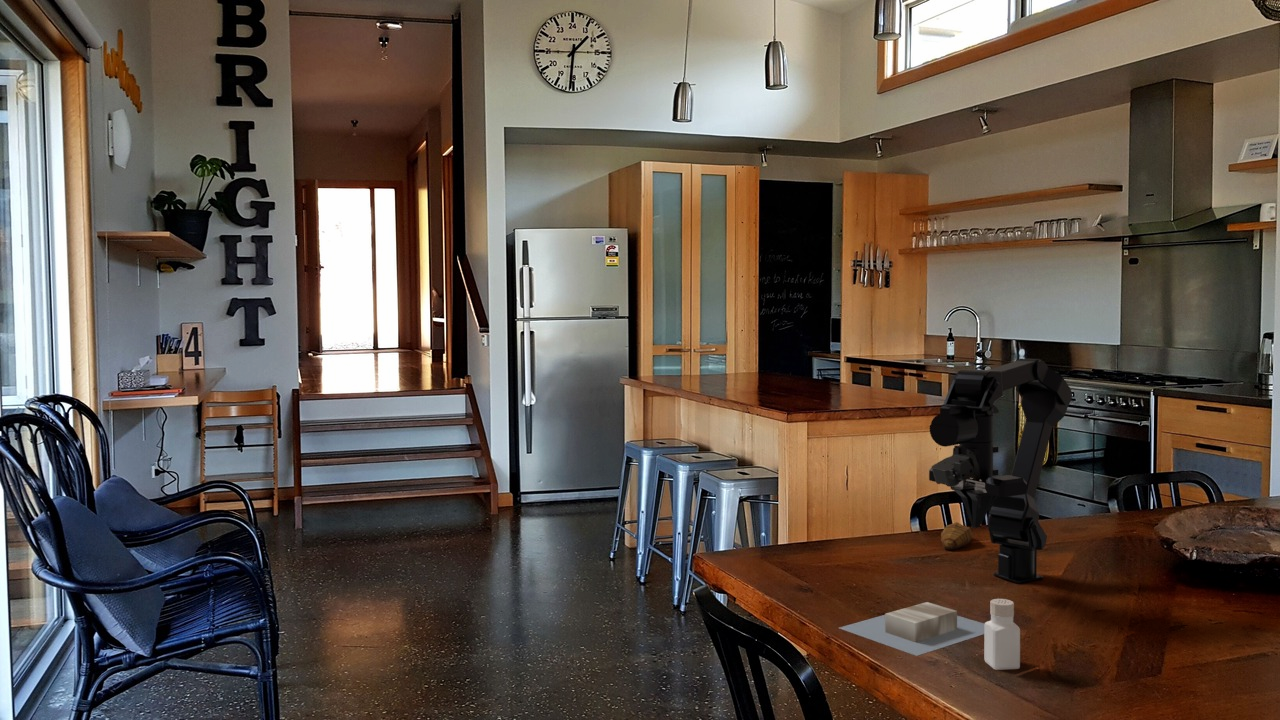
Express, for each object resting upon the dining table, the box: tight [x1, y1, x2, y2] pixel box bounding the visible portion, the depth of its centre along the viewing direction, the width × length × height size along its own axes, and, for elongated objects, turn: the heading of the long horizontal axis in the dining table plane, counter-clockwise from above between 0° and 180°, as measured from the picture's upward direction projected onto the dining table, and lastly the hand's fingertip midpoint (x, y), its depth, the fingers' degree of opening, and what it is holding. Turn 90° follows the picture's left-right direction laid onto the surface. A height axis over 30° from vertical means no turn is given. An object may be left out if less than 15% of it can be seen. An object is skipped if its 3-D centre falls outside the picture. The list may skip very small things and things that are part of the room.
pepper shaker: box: [983, 598, 1021, 671], centre depth 146 cm, size 4×4×10 cm
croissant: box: [940, 522, 974, 551], centre depth 217 cm, size 14×7×5 cm, turn 148°
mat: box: [838, 614, 985, 657], centre depth 163 cm, size 20×16×1 cm
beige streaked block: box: [884, 601, 958, 642], centre depth 161 cm, size 3×6×10 cm
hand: (975, 527), depth 181 cm, fingers closed
